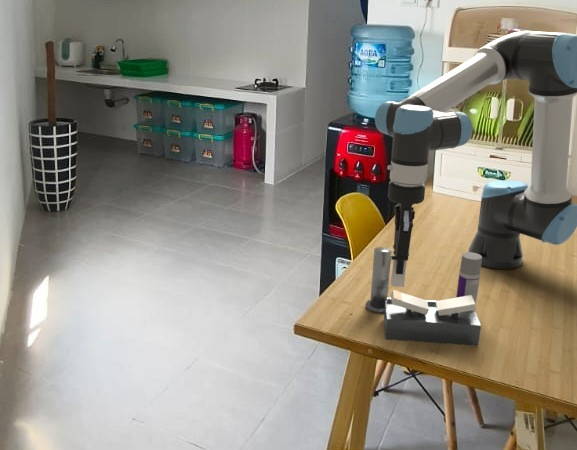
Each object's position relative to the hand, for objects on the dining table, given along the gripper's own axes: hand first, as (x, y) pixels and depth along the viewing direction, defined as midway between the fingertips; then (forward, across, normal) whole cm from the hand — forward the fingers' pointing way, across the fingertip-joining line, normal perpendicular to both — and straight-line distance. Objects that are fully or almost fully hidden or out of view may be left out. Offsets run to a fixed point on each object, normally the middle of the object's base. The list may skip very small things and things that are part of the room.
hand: (397, 284), depth 140 cm
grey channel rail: (+11, 0, +8) cm, 14 cm away
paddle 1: (+4, 0, +3) cm, 5 cm away
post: (+11, -10, -3) cm, 16 cm away
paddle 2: (+4, 0, +13) cm, 14 cm away
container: (+11, -11, +18) cm, 23 cm away
